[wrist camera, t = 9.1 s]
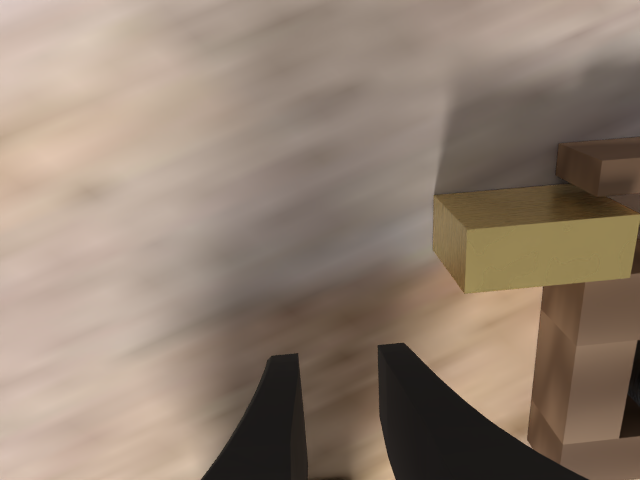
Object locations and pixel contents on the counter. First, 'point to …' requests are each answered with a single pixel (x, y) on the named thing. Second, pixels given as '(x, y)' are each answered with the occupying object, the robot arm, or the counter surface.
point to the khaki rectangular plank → (533, 237)
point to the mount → (591, 340)
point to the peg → (635, 376)
